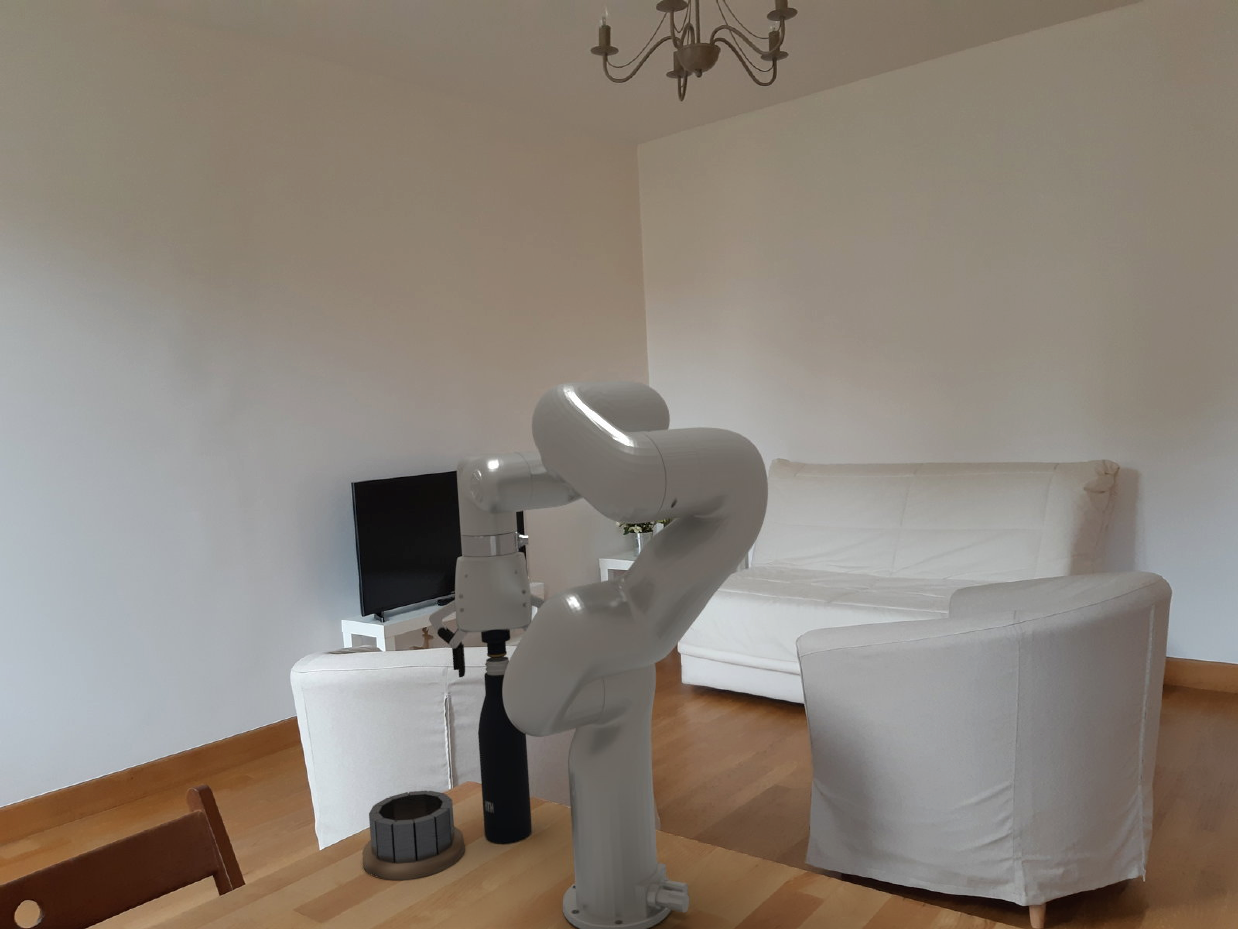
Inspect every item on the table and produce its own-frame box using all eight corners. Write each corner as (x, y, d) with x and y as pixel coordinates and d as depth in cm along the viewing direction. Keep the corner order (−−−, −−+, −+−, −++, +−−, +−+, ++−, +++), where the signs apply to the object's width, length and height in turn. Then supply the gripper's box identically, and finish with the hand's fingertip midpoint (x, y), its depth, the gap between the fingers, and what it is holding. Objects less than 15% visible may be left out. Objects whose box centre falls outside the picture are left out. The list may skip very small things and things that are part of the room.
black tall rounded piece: (536, 823, 130) (522, 610, 129) (527, 844, 124) (512, 620, 122) (491, 823, 131) (477, 612, 129) (479, 844, 125) (465, 622, 123)
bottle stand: (484, 842, 125) (481, 795, 125) (420, 888, 114) (416, 836, 113) (409, 827, 131) (406, 781, 131) (341, 868, 120) (337, 819, 120)
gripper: (553, 538, 130) (560, 659, 131) (427, 547, 128) (435, 669, 129) (555, 545, 123) (563, 673, 124) (422, 554, 121) (430, 685, 122)
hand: (497, 671), depth 126 cm, fingers open, 9 cm apart
